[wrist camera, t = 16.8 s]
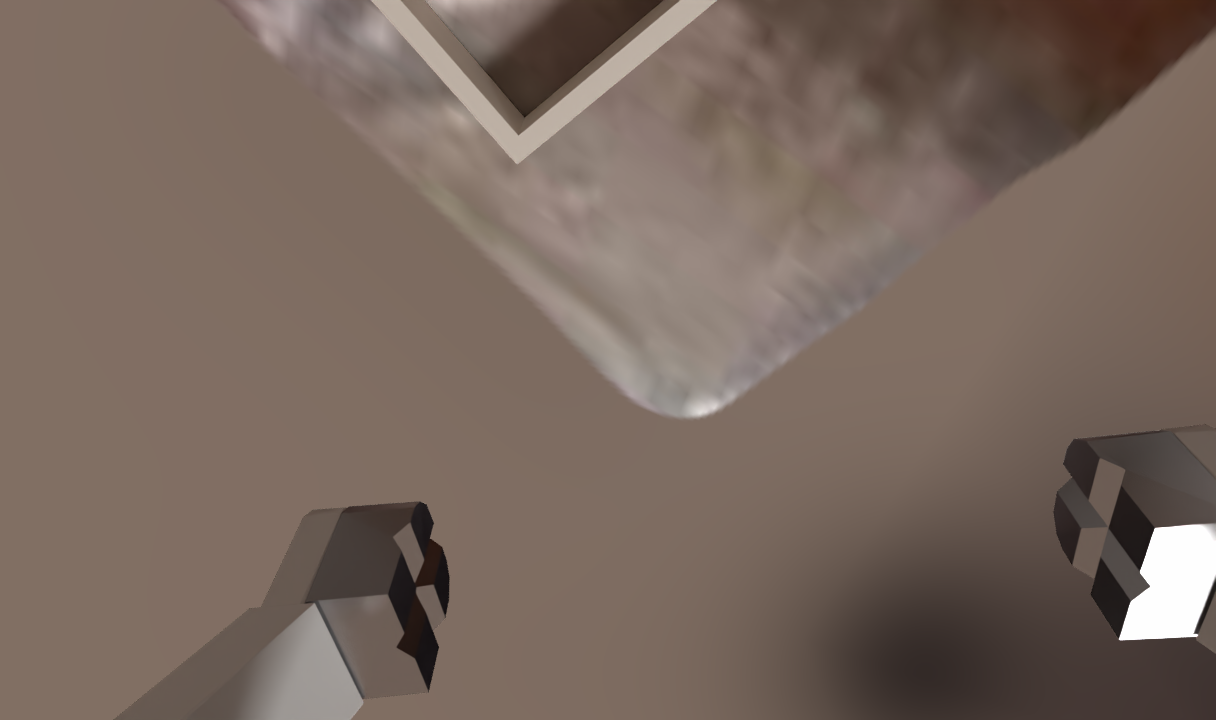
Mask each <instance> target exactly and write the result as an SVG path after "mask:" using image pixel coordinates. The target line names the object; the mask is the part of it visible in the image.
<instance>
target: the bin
mask: <svg viewBox="0 0 1216 720" xmlns="http://www.w3.org/2000/svg"><path fill="white" fill-rule="evenodd" d="M371 1H372V2H373V3H374V4H375V5H376V6H377V7H378V8H379V10H380V11H381V12H382V13H383V14H384V15H385V16H386V17H387V19H388V20H389V21H390V22H391V23H392V24H393V25H394V26H395V28H396V29H397V30H398V31H399V32H400V33H401V34H402V36H403V37H404V38H405V39H406V40H407V41H408V42H409V43H410V45H411V46H412V47H413V48H414V49H415V50H416V51H417V52H418V54H419V55H420V56H421V57H422V58H423V59H424V60H425V61H426V63H427V64H428V65H429V66H430V67H431V68H432V69H433V70H434V72H435V73H436V74H437V75H438V76H439V77H440V78H441V79H442V81H443V82H444V83H445V84H446V85H447V86H448V87H449V88H450V90H451V91H452V92H453V93H454V94H455V95H456V96H457V97H458V99H459V100H460V101H461V102H462V103H463V104H464V105H465V107H466V108H467V109H468V110H469V111H470V112H471V113H472V114H473V116H474V117H475V118H476V119H477V120H478V121H479V122H480V123H481V125H482V126H483V127H484V128H485V129H486V130H487V131H488V132H489V134H490V135H491V136H492V137H493V138H494V139H495V140H496V141H497V143H498V144H499V145H500V146H501V147H502V148H503V149H504V150H505V152H506V153H507V154H508V155H509V156H510V157H511V158H512V159H513V161H514V162H515V163H516V164H518V163H520V162H521V161H522V160H523V159H525V158H526V157H527V156H528V155H529V154H531V153H532V152H533V151H534V150H535V149H537V148H538V147H539V146H540V145H542V144H543V143H544V142H545V141H546V140H548V139H549V138H550V137H551V136H553V135H554V134H555V133H556V132H557V131H559V130H560V129H561V128H562V127H563V126H565V125H566V124H567V123H568V122H570V121H571V120H572V119H573V118H574V117H576V116H577V115H578V114H579V113H581V112H582V111H583V110H584V109H585V108H587V107H588V106H589V105H590V104H591V103H593V102H594V101H595V100H596V99H598V98H599V97H600V96H601V95H602V94H604V93H605V92H606V91H607V90H609V89H610V88H611V87H612V86H613V85H615V84H616V83H617V82H618V81H619V80H621V79H622V78H623V77H624V76H626V75H627V74H628V73H629V72H630V71H632V70H633V69H634V68H635V67H637V66H638V65H639V64H640V63H641V62H643V61H644V60H645V59H646V58H647V57H649V56H650V55H651V54H652V53H654V52H655V51H656V50H657V49H658V48H660V47H661V46H662V45H663V44H665V43H666V42H667V41H668V40H669V39H671V38H672V37H673V36H674V35H675V34H677V33H678V32H679V31H680V30H682V29H683V28H684V27H685V26H686V25H688V24H689V23H690V22H691V21H693V20H694V19H695V18H696V17H697V16H699V15H700V14H701V13H702V12H703V11H705V10H706V9H707V8H708V7H710V6H711V5H712V4H713V3H714V2H716V1H717V0H663V1H662V2H661V3H660V4H659V5H657V6H656V7H655V8H654V9H653V10H651V11H650V12H649V13H648V14H647V15H645V16H644V17H643V18H642V19H641V20H640V21H638V22H637V23H636V24H635V25H634V26H632V27H631V28H630V29H629V30H628V31H627V32H625V33H624V34H623V35H622V36H621V37H619V38H618V39H617V40H616V41H615V42H614V43H612V44H611V45H610V46H609V47H608V48H606V49H605V50H604V51H603V52H602V53H601V54H599V55H598V56H597V57H596V58H595V59H593V60H592V61H591V62H590V63H589V64H588V65H586V66H585V67H584V68H583V69H582V70H580V71H579V72H578V73H577V74H576V75H574V76H573V77H572V78H571V79H570V80H569V81H567V82H566V83H565V84H564V85H563V86H561V87H560V88H559V89H558V90H557V91H556V92H554V93H553V94H552V95H551V96H550V97H548V98H547V99H546V100H545V101H544V102H543V103H541V104H540V105H539V106H538V107H537V108H535V109H534V110H533V111H532V112H531V113H530V114H528V115H527V116H526V117H525V118H524V116H523V115H522V114H521V113H520V112H519V111H518V109H517V108H516V107H515V106H514V105H513V104H512V102H511V101H510V100H509V99H508V98H507V97H506V95H505V94H504V93H503V92H502V91H501V90H500V88H499V87H498V86H497V85H496V84H495V83H494V81H493V80H492V79H491V78H490V77H489V76H488V74H487V73H486V72H485V71H484V70H483V69H482V67H481V66H480V65H479V64H478V63H477V61H476V60H475V59H474V58H473V57H472V56H471V54H470V53H469V52H468V51H467V50H466V49H465V47H464V46H463V45H462V44H461V43H460V42H459V40H458V39H457V38H456V37H455V36H454V35H453V33H452V32H451V31H450V30H449V29H448V28H447V26H446V25H445V24H444V23H443V22H442V21H441V19H440V18H439V17H438V16H437V15H436V14H435V12H434V11H433V10H432V9H431V8H430V7H429V5H428V4H427V3H426V2H425V1H424V0H371Z"/></svg>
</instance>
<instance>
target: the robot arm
mask: <svg viewBox="0 0 1216 720" xmlns="http://www.w3.org/2000/svg"><path fill="white" fill-rule="evenodd" d="M1063 465H1064V466H1065V468H1066V469H1067V471H1068V472H1069V473H1070V475H1071V476H1072V478H1071V479H1070V480H1069V481H1068V482H1067V483H1065V485H1063V486H1062V487H1061V488H1060V489H1059V490H1058V491H1057V494H1056V499H1055V505H1054V511H1053V513H1054V521H1055V527H1056V534H1057V537H1058V539H1059V541H1060V544H1061V547H1062V550H1063V551H1064V553H1065V555H1066V556H1067V558H1068V560H1069V561H1070V563H1071V565H1072V566H1073V567H1075V568H1077V569H1078V570H1080V571H1082V572H1084V573H1085V574H1087V575H1089V576H1090V577H1092V578H1094V583H1093V586H1092V590H1091V597H1092V598H1093V600H1094V601H1095V603H1096V605H1097V606H1098V608H1099V609H1100V611H1101V612H1102V614H1103V615H1104V617H1105V619H1106V620H1107V622H1108V623H1109V625H1110V626H1111V628H1112V629H1113V631H1114V633H1115V634H1116V636H1117V637H1118V639H1119V640H1129V639H1149V638H1169V637H1188V636H1189V637H1190V636H1197V639H1196V640H1198V641H1199V642H1200V643H1201V644H1203V645H1204V646H1206V647H1207V648H1209V649H1210V650H1211V651H1213V652H1214V653H1216V428H1213V427H1211V426H1209V425H1206V424H1203V425H1194V426H1185V427H1177V428H1168V429H1161V430H1159V431H1146V432H1137V433H1128V434H1127V433H1126V434H1117V435H1107V436H1097V437H1088V438H1078V439H1073V441H1072V442H1071V444H1070V445H1069V446H1068V448H1067V450H1066V454H1065V459H1064V462H1063ZM433 525H434V522H433V519H432V517H431V514H430V512H429V509H428V507H427V504H424V503H422V502H406V503H392V504H378V505H365V506H352V507H351V506H350V507H348V508H333V509H318V510H312V511H310V512H309V513H308V514H307V515H305V516H304V517H303V519H302V521H301V523H300V525H299V527H298V529H297V531H296V533H295V536H294V538H293V540H292V542H291V544H290V546H289V549H288V551H287V553H286V555H285V557H284V559H283V561H282V563H281V565H280V568H279V570H278V572H277V574H276V576H275V578H274V580H273V582H272V585H271V587H270V589H269V591H268V594H267V595H266V597H265V600H264V602H263V604H262V606H261V607H260V608H250V609H248V610H247V611H246V612H245V613H243V614H242V615H241V616H240V617H239V618H237V619H236V620H235V621H234V622H233V623H231V624H230V625H229V626H228V627H227V628H225V629H224V630H223V631H221V632H220V633H219V634H218V635H217V636H215V637H214V638H213V639H212V640H210V641H209V642H208V643H207V644H205V645H204V646H203V647H202V648H201V649H199V650H198V651H197V652H196V653H195V654H194V655H192V656H191V657H190V658H188V659H187V660H186V661H185V662H183V663H182V664H181V665H180V666H179V667H177V668H176V669H175V670H174V671H172V672H171V673H170V674H169V675H168V676H166V677H165V678H164V679H163V680H161V681H160V682H159V683H158V684H157V685H155V686H154V687H153V688H152V689H150V690H149V691H148V692H147V693H145V694H144V695H143V696H142V697H141V698H139V699H138V700H137V701H136V702H134V703H133V704H132V705H131V706H130V707H128V708H127V709H126V710H125V711H124V712H122V713H121V714H120V715H119V716H117V717H116V718H115V719H114V720H350V719H351V718H352V717H353V716H354V714H355V713H356V712H357V711H358V710H359V708H360V707H361V706H362V705H363V703H364V702H363V699H369V698H378V697H388V696H398V695H408V694H417V693H425V692H429V689H430V684H431V680H432V676H433V671H434V667H435V662H436V658H437V654H438V649H439V646H438V643H437V640H436V638H435V635H434V632H433V630H434V629H435V628H436V627H437V626H438V625H439V624H440V623H441V622H442V621H443V620H444V619H445V618H446V613H447V607H448V603H449V580H450V579H449V578H450V577H449V571H448V565H447V560H446V557H445V554H444V551H443V548H442V547H441V546H440V545H438V544H437V543H436V542H434V541H433V540H432V539H430V536H431V532H432V528H433Z"/></svg>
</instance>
